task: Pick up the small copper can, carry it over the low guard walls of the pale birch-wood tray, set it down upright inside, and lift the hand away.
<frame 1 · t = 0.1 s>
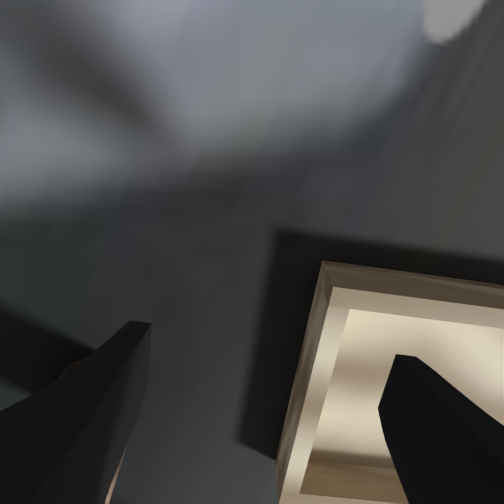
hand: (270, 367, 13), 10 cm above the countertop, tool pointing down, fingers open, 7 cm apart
tray: (430, 386, 26), on the countertop
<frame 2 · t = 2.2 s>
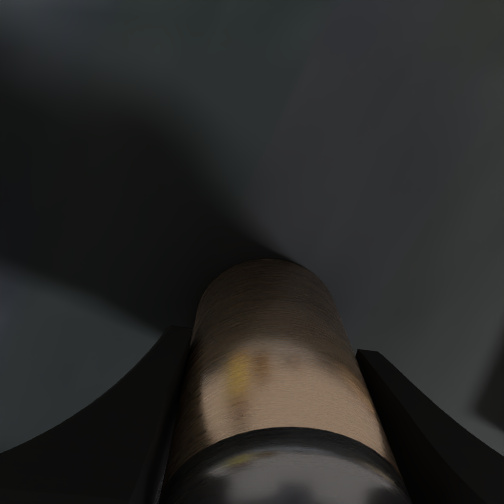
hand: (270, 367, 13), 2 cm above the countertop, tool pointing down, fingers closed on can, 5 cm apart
can: (266, 323, 15), on the countertop, touching gripper
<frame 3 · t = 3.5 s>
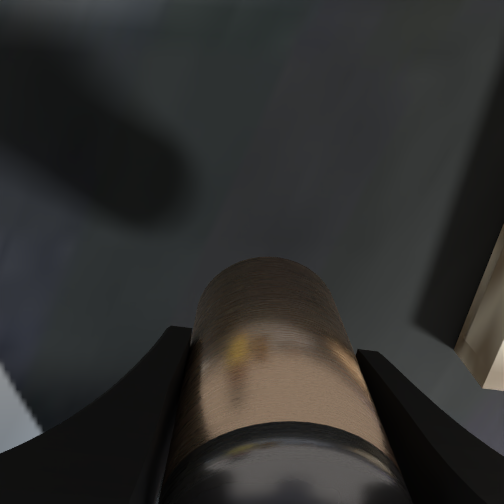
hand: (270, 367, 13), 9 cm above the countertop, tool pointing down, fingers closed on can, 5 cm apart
can: (266, 321, 15), point 6 cm above the countertop, touching gripper
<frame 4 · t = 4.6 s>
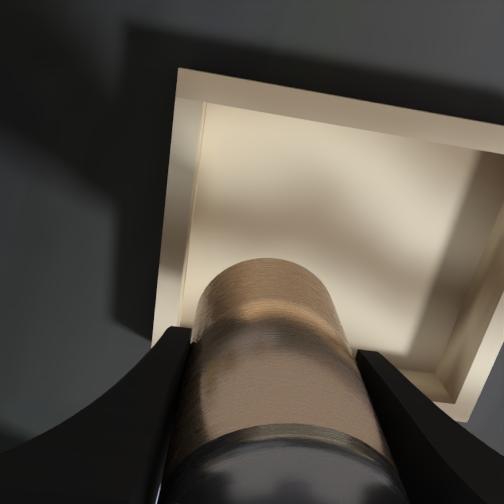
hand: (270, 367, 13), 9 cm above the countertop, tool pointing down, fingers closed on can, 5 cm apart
can: (265, 321, 15), point 7 cm above the countertop, touching gripper
tray: (334, 249, 22), on the countertop
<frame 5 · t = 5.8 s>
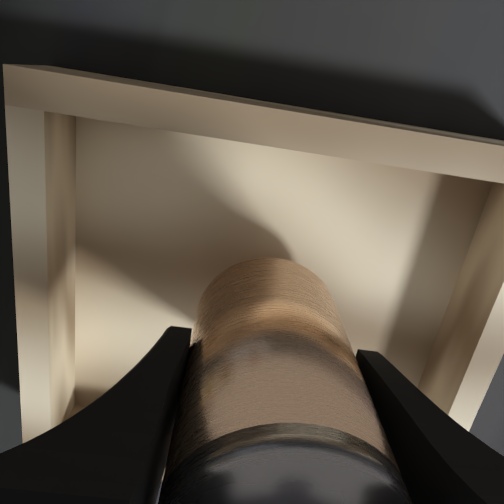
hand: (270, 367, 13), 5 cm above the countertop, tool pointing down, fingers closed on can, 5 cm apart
can: (266, 321, 15), point 2 cm above the countertop, touching gripper
tray: (263, 292, 17), on the countertop
when the fingers open (4 cm above the countertop, at t = 6.8 s): can drops 1 cm, resting on tray.
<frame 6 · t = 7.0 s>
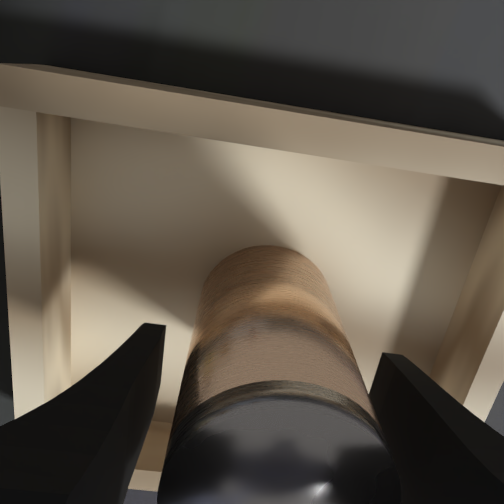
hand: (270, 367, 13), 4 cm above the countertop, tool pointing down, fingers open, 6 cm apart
can: (265, 306, 16), point 1 cm above the countertop, touching tray
tray: (264, 298, 17), on the countertop
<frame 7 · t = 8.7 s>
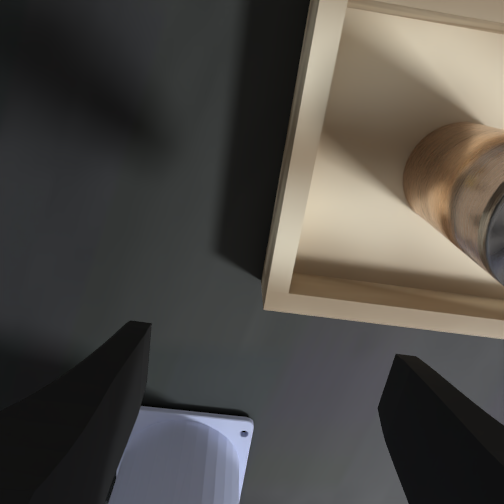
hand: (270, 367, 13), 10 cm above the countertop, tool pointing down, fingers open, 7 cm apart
can: (454, 174, 20), point 1 cm above the countertop, touching tray
tray: (448, 172, 21), on the countertop
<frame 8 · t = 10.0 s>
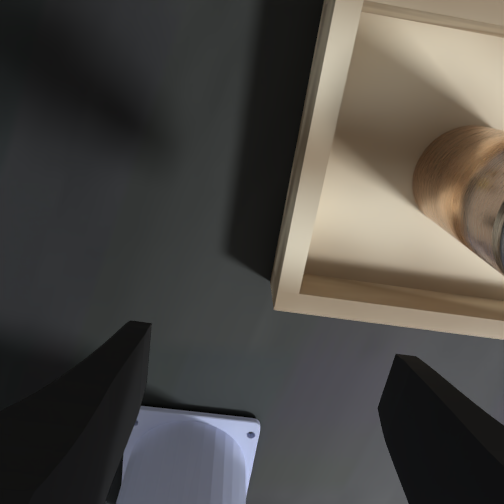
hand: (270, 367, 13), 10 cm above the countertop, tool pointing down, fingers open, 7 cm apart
can: (463, 177, 21), point 1 cm above the countertop, touching tray
tray: (456, 175, 21), on the countertop
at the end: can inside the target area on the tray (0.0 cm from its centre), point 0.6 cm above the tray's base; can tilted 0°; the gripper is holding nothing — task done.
